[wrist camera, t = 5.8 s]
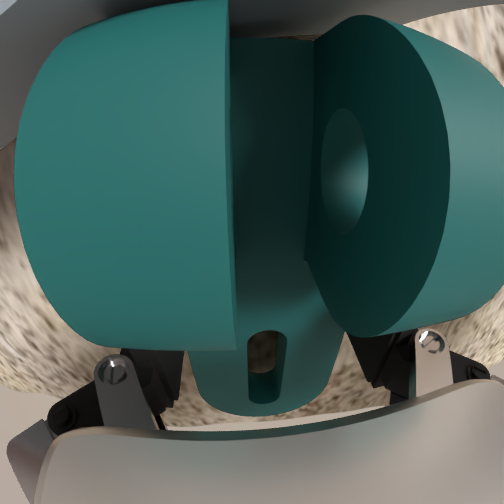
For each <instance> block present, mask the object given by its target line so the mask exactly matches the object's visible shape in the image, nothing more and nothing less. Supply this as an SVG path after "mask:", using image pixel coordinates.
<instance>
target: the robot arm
mask: <svg viewBox="0 0 504 504" xmlns="http://www.w3.org/2000/svg"><path fill="white" fill-rule="evenodd" d="M347 335H348V337H349V339H350V342H351V344H352V346H353V349H354V351H355V353H356V356H357V358H358V361H359V363H360V365H361V368H362V370H363V373H364V375H365V378H366V380H367V381H368V382H371V384H372V386H373V388H377V387H381V386H385V388H386V389H387V392H386V401H385V407H383V408H379V409H376V410H372V411H368V412H364V413H360V414H356V415H351V416H347V417H343V418H337V419H333V420H328V421H322V422H316V423H310V424H303V425H296V426H289V427H281V428H271V429H260V430H246V431H245V430H244V431H217V432H216V431H215V432H214V431H213V432H210V431H209V432H208V431H207V432H205V431H172V430H168V429H167V427H166V425H165V422H164V420H163V418H162V415H161V413H163V412H164V411H165V410H166V407H169V408H173V403H174V400H178V398H179V390H180V381H181V373H182V364H183V357H184V351H168V350H144V349H128V348H122V349H121V352H120V354H114V355H109V356H107V357H105V358H103V359H102V360H101V361H99V363H98V364H97V365H96V367H95V370H94V381H92V382H90V383H89V384H87V385H85V386H84V387H82V388H80V389H79V390H77V391H75V392H74V393H72V394H70V395H69V396H67V397H65V398H64V399H62V400H60V401H59V402H57V403H56V404H54V405H53V406H52V407H51V409H50V410H49V413H48V416H47V420H46V421H44V420H43V419H41V420H40V421H38V422H37V423H35V424H34V425H32V426H31V427H29V428H28V429H26V430H25V431H23V432H22V433H20V434H19V435H17V436H16V437H14V438H13V439H12V440H11V441H10V442H9V443H8V446H7V456H8V459H9V462H10V464H11V466H12V469H13V471H14V473H15V475H16V477H17V479H18V481H19V483H20V485H21V487H22V489H23V491H24V493H25V495H26V497H27V499H28V501H29V502H30V504H504V380H503V379H501V378H499V377H496V376H495V375H492V376H491V377H490V374H489V371H488V370H487V368H486V367H485V366H484V365H482V364H481V363H479V362H476V361H474V360H472V359H469V358H467V357H464V356H462V355H459V354H457V353H455V352H452V351H450V350H449V346H448V342H447V339H446V338H445V337H444V335H442V334H441V333H440V332H438V331H437V330H434V329H431V328H425V329H421V330H420V331H419V330H418V329H417V328H416V329H411V330H406V331H402V332H396V333H391V334H386V335H380V336H374V337H363V338H360V337H356V336H353V335H351V334H349V333H347Z"/></svg>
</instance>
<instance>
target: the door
mask: <svg viewBox="0 0 504 504" xmlns="http://www.w3.org/2000/svg"><path fill="white" fill-rule="evenodd" d="M185 1H194V0H0V150H1V149H2V148H4V147H5V146H6V145H7V144H9V143H10V142H11V141H13V140H14V139H15V138H17V134H18V129H19V123H20V119H21V115H22V112H23V108H24V105H25V102H26V99H27V96H28V94H29V91H30V89H31V86H32V84H33V82H34V80H35V78H36V76H37V74H38V72H39V70H40V68H41V67H42V65H43V64H44V62H45V61H46V60H47V58H48V57H49V55H50V54H51V52H52V51H53V50H54V49H55V48H56V47H57V46H58V45H59V44H60V43H61V42H62V41H63V40H64V39H65V38H66V37H67V36H69V35H70V34H71V33H73V32H74V31H76V30H78V29H80V28H82V27H84V26H86V25H88V24H91V23H94V22H97V21H100V20H103V19H106V18H110V17H113V16H117V15H120V14H124V13H128V12H131V11H136V10H140V9H144V8H149V7H154V6H159V5H165V4H171V3H178V2H185ZM495 4H504V0H229V11H230V36H231V37H263V38H275V37H285V36H297V35H318V34H324V33H326V32H327V31H329V30H330V29H331V28H333V27H334V26H336V25H337V24H339V23H340V22H342V21H343V20H345V19H347V18H349V17H352V16H355V15H371V16H376V17H379V18H382V19H385V20H389V21H392V22H395V23H398V24H400V25H403V24H406V23H409V22H412V21H416V20H419V19H422V18H426V17H430V16H434V15H438V14H442V13H446V12H451V11H456V10H461V9H466V8H472V7H479V6H486V5H495Z"/></svg>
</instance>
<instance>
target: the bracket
mask: <svg viewBox="0 0 504 504" xmlns="http://www.w3.org/2000/svg"><path fill="white" fill-rule="evenodd" d="M14 192H15V203H16V212H17V218H18V223H19V228H20V232H21V236H22V240H23V244H24V248H25V251H26V254H27V256H28V259H29V262H30V264H31V267H32V269H33V272H34V274H35V277H36V279H37V281H38V283H39V285H40V286H41V288H42V290H43V292H44V294H45V296H46V297H47V299H48V301H49V302H50V303H51V305H52V306H53V308H54V309H55V310H56V312H57V313H58V314H59V316H60V317H61V318H62V319H63V320H64V321H65V322H66V323H67V324H68V325H69V326H70V327H71V328H72V329H73V330H74V331H75V332H76V333H78V334H79V335H80V336H82V337H83V338H85V339H86V340H88V341H90V342H92V343H94V344H97V345H101V346H105V347H115V348H128V349H144V350H168V351H188V355H189V359H190V362H191V366H192V369H193V373H194V377H195V380H196V383H197V387H198V390H199V393H200V395H201V396H202V398H203V399H204V400H205V401H206V402H207V403H208V404H210V405H211V406H213V407H214V408H216V409H218V410H221V411H223V412H226V413H230V414H234V415H240V416H253V417H256V416H270V415H276V414H281V413H285V412H288V411H291V410H294V409H297V408H299V407H301V406H303V405H305V404H307V403H309V402H310V401H312V400H313V399H315V398H316V397H317V396H318V395H319V394H320V393H321V392H322V391H323V390H324V388H325V387H326V385H327V383H328V380H329V377H330V375H331V372H332V369H333V366H334V363H335V360H336V357H337V354H338V351H339V348H340V345H341V342H342V339H343V335H344V332H347V333H349V334H351V335H353V336H356V337H360V338H363V337H374V336H380V335H386V334H391V333H396V332H402V331H406V330H411V329H416V328H421V327H425V326H430V325H434V324H438V323H442V322H446V321H450V320H454V319H457V318H460V317H463V316H466V315H468V314H470V313H472V312H474V311H475V310H477V309H479V308H480V307H482V306H483V305H484V304H485V303H487V302H488V301H489V300H490V299H491V298H492V297H493V296H494V295H495V294H496V293H497V292H498V291H499V290H500V288H501V287H502V286H503V285H504V87H503V86H502V85H501V84H500V82H499V81H498V80H497V79H496V78H495V76H494V75H493V74H492V73H491V72H490V71H489V70H487V69H486V68H485V67H484V66H483V65H482V64H481V63H479V62H478V61H476V60H475V59H473V58H472V57H470V56H469V55H467V54H465V53H463V52H461V51H460V50H458V49H456V48H454V47H452V46H450V45H448V44H446V43H444V42H442V41H439V40H437V39H435V38H433V37H431V36H428V35H426V34H424V33H421V32H419V31H416V30H414V29H411V28H409V27H406V26H403V25H400V24H398V23H395V22H392V21H389V20H385V19H382V18H379V17H376V16H371V15H355V16H352V17H349V18H347V19H345V20H343V21H342V22H340V23H339V24H337V25H336V26H334V27H333V28H331V29H330V30H329V31H327V32H326V33H324V34H323V35H322V36H320V37H319V38H318V39H316V40H315V41H305V40H296V39H283V38H263V37H231V36H230V11H229V0H194V1H185V2H178V3H171V4H165V5H159V6H154V7H149V8H144V9H140V10H136V11H131V12H128V13H124V14H120V15H117V16H113V17H110V18H106V19H103V20H100V21H97V22H94V23H91V24H88V25H86V26H84V27H82V28H80V29H78V30H76V31H74V32H73V33H71V34H70V35H69V36H67V37H66V38H65V39H64V40H63V41H62V42H61V43H60V44H59V45H58V46H57V47H56V48H55V49H54V50H53V51H52V52H51V54H50V55H49V57H48V58H47V60H46V61H45V62H44V64H43V65H42V67H41V68H40V70H39V72H38V74H37V76H36V78H35V80H34V82H33V84H32V86H31V89H30V91H29V94H28V96H27V99H26V102H25V105H24V108H23V112H22V115H21V119H20V123H19V129H18V134H17V140H16V146H15V159H14ZM265 330H274V331H278V339H277V350H276V361H275V366H274V368H273V369H272V370H270V371H268V372H265V373H253V372H251V371H249V370H248V362H247V342H248V340H249V338H250V337H251V336H253V335H254V334H256V333H258V332H261V331H265Z"/></svg>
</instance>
